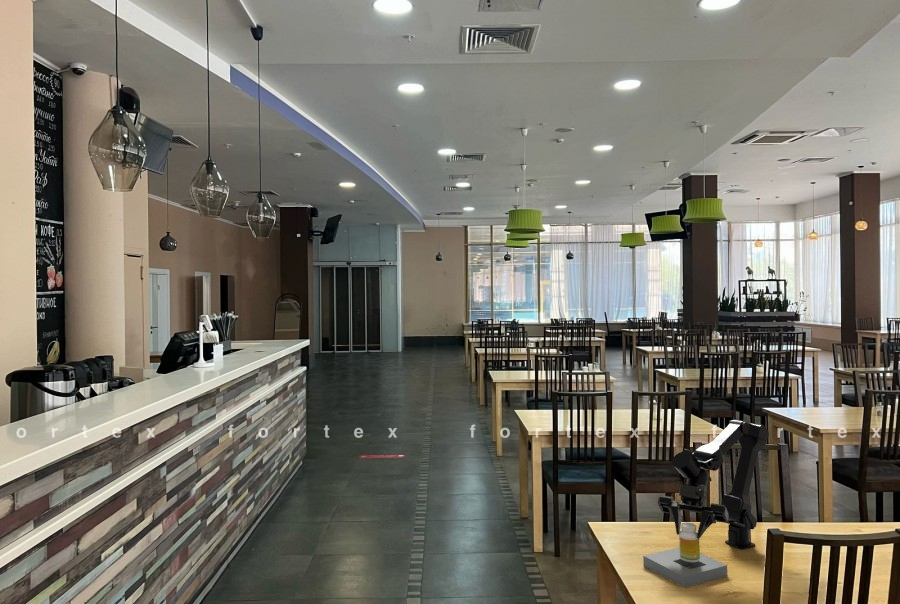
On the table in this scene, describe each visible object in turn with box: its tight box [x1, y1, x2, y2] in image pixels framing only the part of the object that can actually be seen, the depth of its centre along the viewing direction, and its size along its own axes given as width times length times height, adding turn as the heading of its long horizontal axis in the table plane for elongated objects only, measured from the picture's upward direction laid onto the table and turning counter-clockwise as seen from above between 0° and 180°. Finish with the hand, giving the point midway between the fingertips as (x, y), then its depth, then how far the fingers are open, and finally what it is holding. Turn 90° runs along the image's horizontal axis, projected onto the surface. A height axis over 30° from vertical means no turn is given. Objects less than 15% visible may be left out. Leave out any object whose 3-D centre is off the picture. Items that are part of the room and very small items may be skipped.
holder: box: [642, 546, 728, 589], centre depth 177 cm, size 16×16×3 cm
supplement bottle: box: [678, 522, 701, 562], centre depth 175 cm, size 5×5×10 cm
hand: (687, 536), depth 174 cm, fingers closed on supplement bottle, 5 cm apart
